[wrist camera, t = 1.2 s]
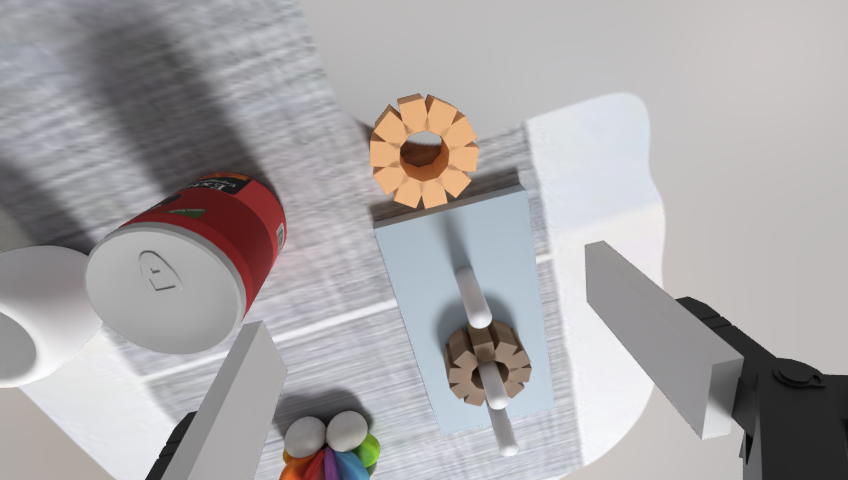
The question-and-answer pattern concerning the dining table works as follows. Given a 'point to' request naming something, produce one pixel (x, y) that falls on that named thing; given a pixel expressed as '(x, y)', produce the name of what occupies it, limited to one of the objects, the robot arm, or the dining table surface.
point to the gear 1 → (428, 178)
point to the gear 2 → (485, 360)
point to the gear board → (441, 299)
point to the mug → (42, 312)
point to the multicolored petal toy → (330, 449)
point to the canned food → (187, 265)
